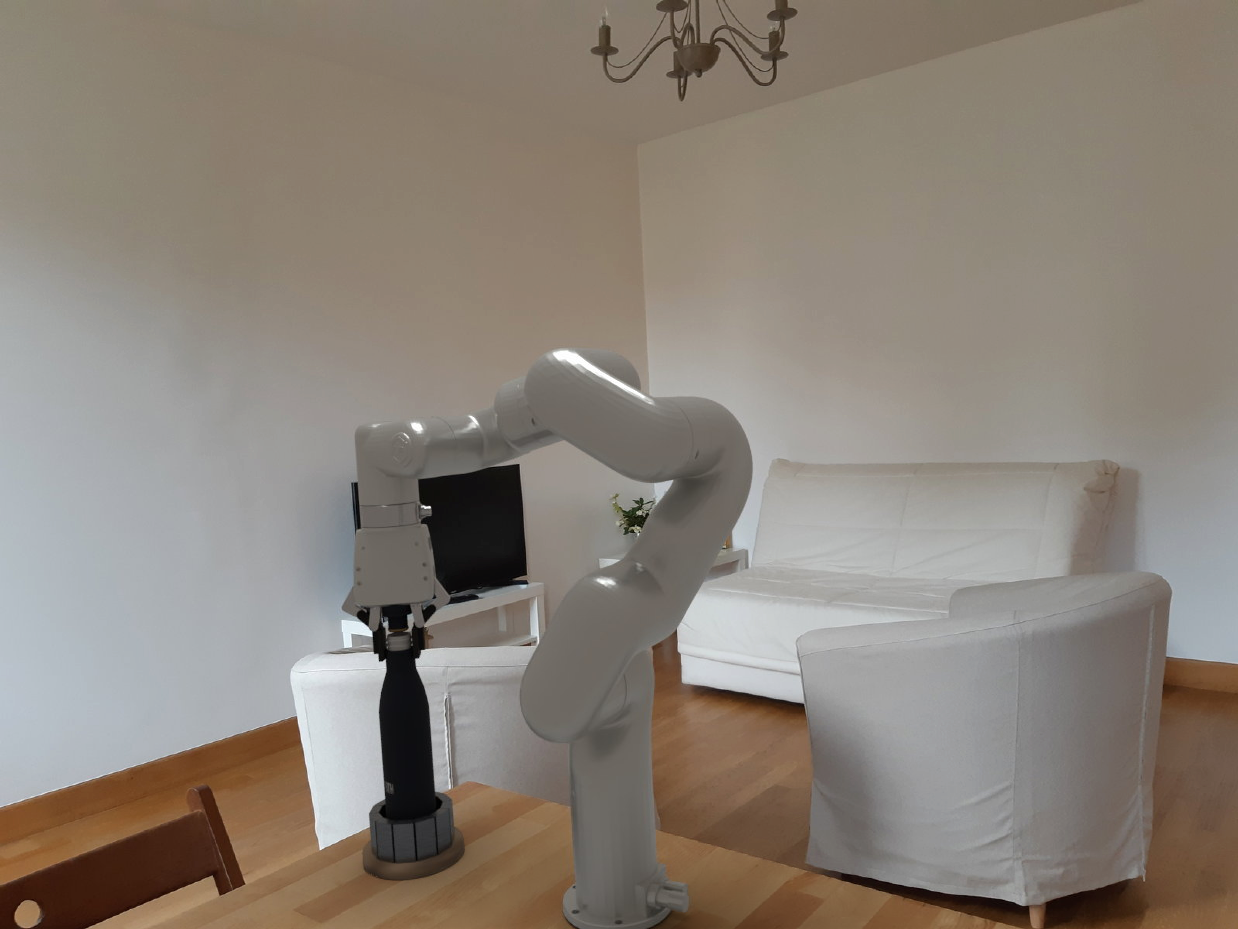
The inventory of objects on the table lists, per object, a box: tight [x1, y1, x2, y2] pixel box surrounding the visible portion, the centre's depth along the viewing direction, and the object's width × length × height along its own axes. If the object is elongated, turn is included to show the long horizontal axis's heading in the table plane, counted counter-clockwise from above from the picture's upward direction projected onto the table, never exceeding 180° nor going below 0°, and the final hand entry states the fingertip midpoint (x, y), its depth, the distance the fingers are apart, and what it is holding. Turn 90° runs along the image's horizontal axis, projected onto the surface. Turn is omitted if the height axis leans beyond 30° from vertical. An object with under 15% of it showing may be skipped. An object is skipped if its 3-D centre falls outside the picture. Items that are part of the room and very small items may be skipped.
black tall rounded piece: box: [378, 604, 436, 821], centre depth 122 cm, size 6×6×30 cm
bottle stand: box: [361, 791, 465, 881], centre depth 122 cm, size 13×13×6 cm
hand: (400, 656), depth 121 cm, fingers closed on black tall rounded piece, 3 cm apart
